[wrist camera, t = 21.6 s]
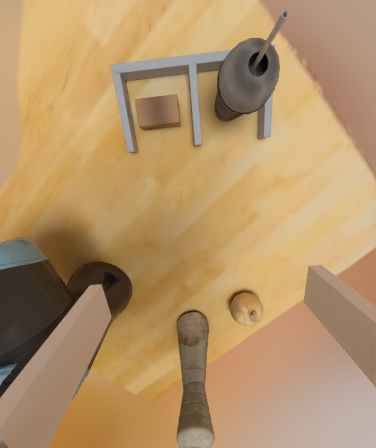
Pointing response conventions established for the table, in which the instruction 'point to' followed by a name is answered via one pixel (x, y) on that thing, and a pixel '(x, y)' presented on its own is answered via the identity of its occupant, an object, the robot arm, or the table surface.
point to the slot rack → (191, 67)
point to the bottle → (194, 383)
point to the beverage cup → (248, 76)
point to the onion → (246, 309)
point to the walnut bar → (158, 112)
